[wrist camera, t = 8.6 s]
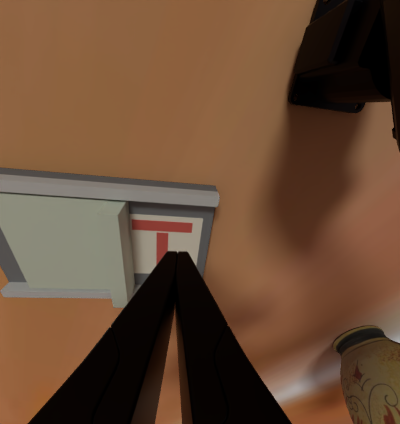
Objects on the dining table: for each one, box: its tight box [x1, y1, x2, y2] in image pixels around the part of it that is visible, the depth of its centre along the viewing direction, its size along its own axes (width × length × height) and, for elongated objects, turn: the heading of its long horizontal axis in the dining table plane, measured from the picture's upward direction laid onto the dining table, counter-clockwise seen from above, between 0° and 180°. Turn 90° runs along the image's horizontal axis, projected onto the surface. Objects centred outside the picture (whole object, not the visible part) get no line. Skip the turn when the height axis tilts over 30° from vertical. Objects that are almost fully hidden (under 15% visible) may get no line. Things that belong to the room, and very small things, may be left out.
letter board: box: [0, 168, 220, 298], centre depth 20 cm, size 22×14×3 cm, turn 84°
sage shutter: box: [0, 192, 135, 308], centre depth 18 cm, size 11×11×3 cm
